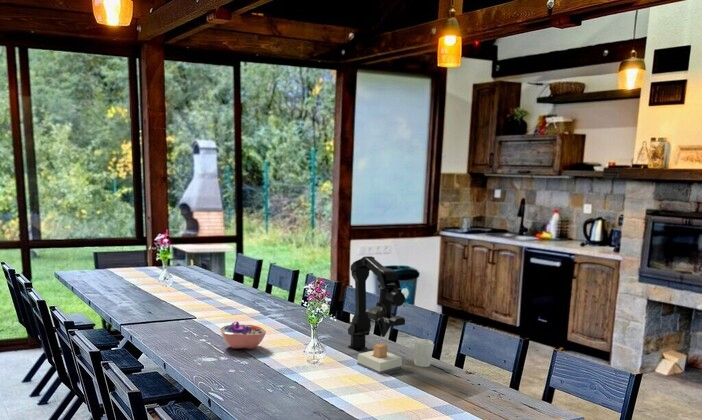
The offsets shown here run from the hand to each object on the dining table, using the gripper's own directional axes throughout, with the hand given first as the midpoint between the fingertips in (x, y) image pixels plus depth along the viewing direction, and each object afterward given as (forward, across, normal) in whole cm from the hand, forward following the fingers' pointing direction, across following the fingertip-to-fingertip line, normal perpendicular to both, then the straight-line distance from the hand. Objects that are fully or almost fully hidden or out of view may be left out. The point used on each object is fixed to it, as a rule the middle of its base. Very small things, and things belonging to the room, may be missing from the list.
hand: (383, 336), depth 230 cm
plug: (+11, +2, -3) cm, 11 cm away
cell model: (+12, -46, -40) cm, 62 cm away
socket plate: (+12, +2, -3) cm, 12 cm away
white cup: (+12, +10, +15) cm, 22 cm away
